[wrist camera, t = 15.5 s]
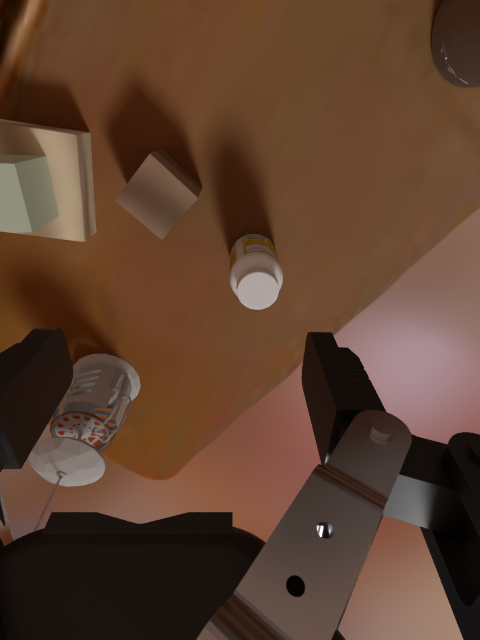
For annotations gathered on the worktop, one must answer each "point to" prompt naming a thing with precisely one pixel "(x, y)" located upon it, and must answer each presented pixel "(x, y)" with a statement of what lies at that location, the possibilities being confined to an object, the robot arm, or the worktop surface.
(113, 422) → the french press
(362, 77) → the worktop surface
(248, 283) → the supplement bottle
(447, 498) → the robot arm
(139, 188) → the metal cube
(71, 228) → the pine block
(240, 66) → the worktop surface
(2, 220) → the green cube
